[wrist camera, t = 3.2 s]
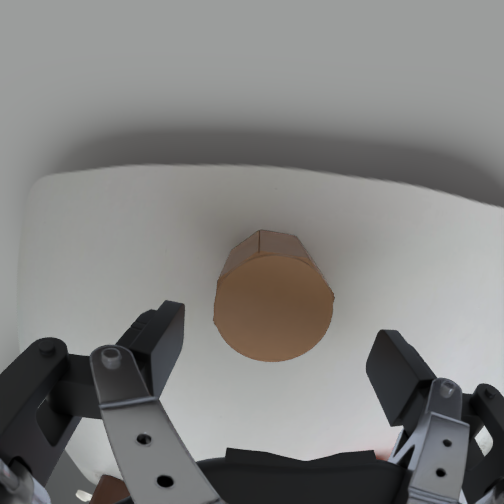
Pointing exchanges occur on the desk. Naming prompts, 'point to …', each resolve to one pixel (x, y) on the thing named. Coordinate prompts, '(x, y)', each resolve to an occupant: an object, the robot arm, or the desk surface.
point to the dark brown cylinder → (109, 491)
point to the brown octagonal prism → (272, 298)
